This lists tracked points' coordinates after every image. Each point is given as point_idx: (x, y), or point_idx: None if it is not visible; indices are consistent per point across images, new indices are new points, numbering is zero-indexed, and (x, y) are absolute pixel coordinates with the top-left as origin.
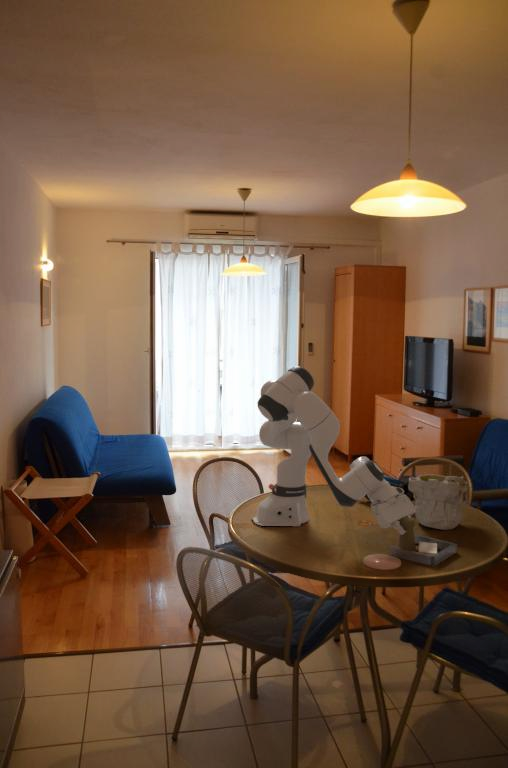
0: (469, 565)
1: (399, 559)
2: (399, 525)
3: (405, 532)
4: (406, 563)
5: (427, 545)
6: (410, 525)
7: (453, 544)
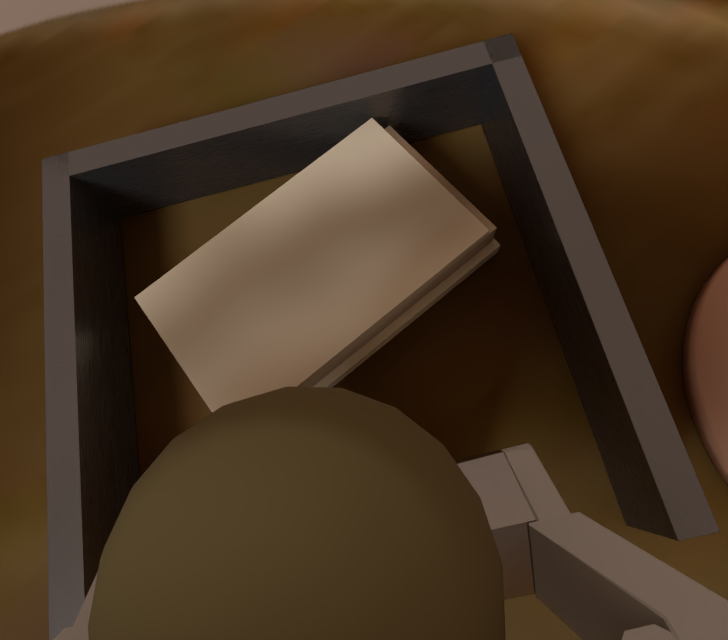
0: (257, 10)
1: (707, 306)
2: (636, 574)
3: (486, 456)
4: (652, 255)
5: (258, 310)
6: (387, 406)
7: (74, 166)
